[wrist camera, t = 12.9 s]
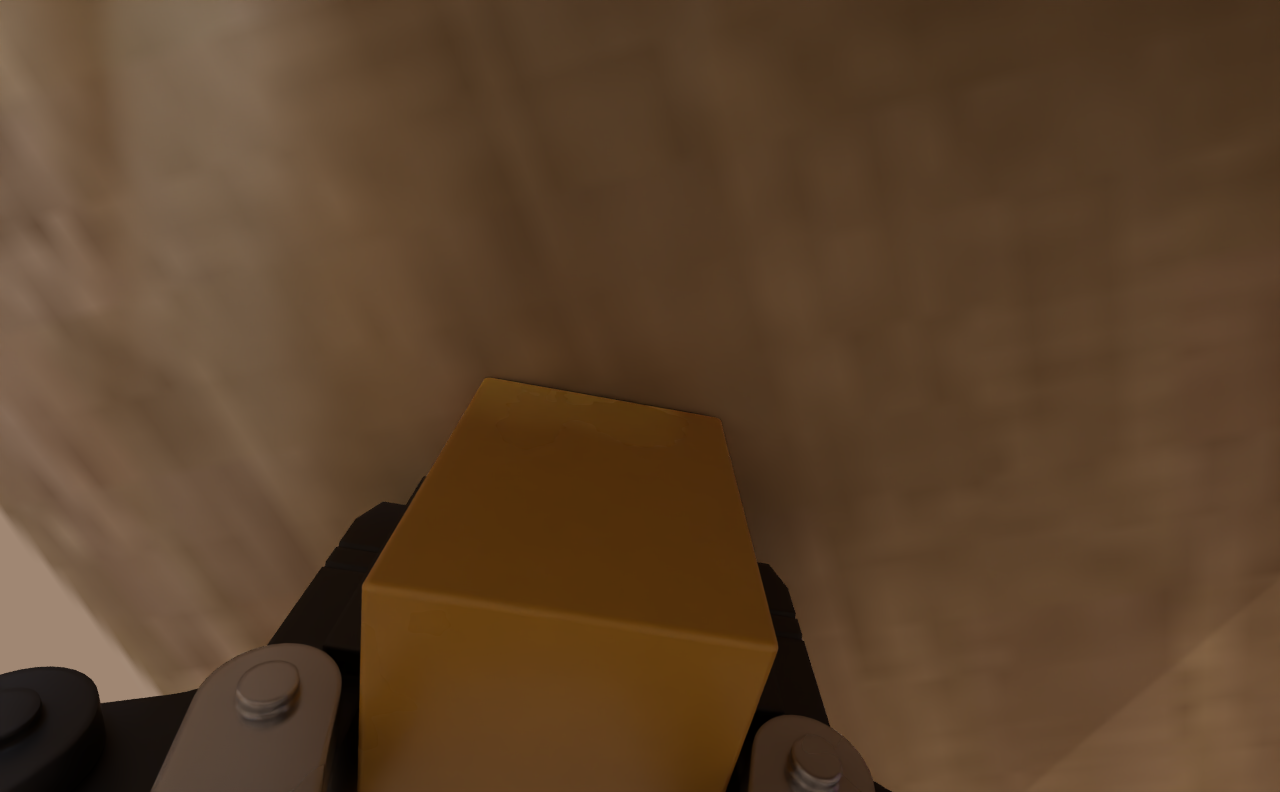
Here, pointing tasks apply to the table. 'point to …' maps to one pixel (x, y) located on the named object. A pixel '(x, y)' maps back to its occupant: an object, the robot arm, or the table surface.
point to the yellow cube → (565, 607)
